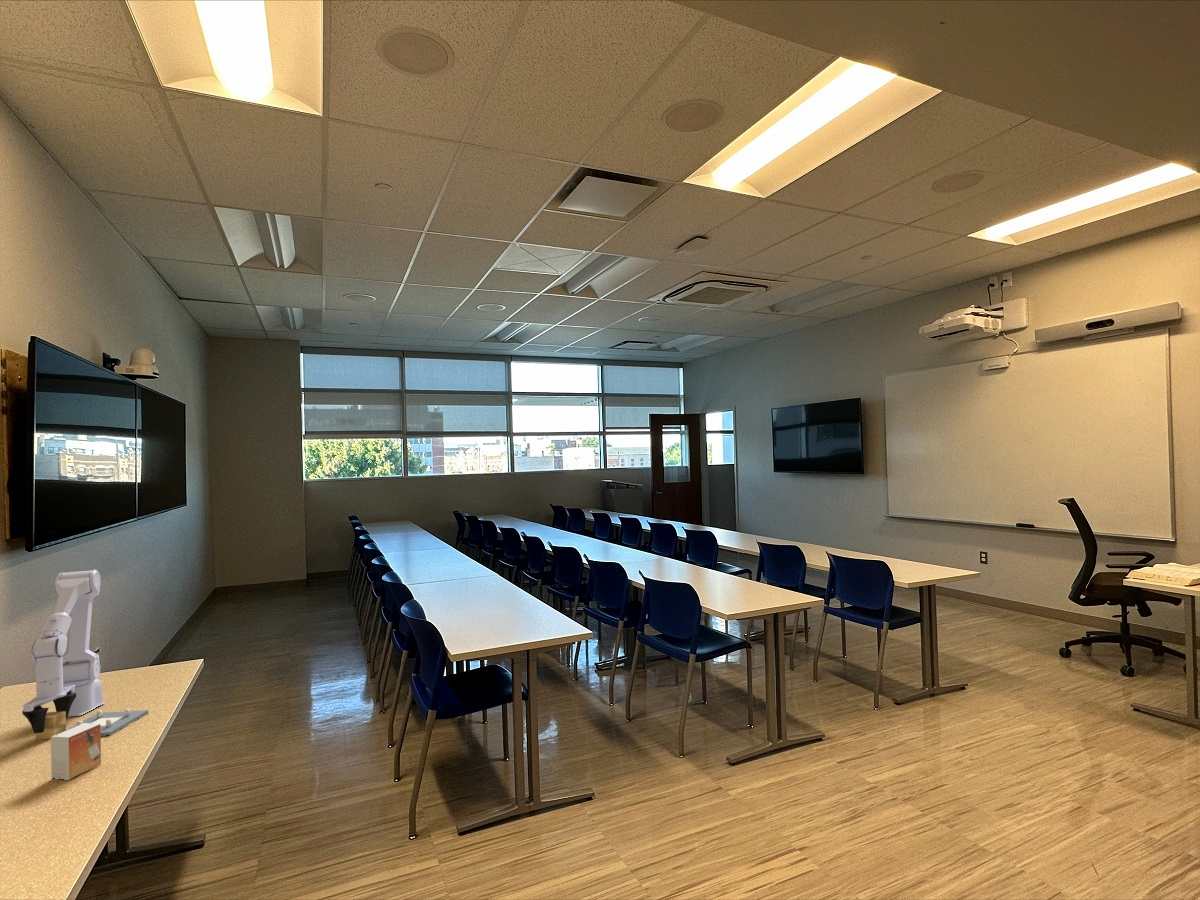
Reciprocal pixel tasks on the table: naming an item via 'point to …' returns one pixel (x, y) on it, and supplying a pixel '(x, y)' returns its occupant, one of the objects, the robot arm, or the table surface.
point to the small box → (75, 751)
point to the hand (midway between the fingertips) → (50, 726)
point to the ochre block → (53, 725)
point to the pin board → (112, 720)
